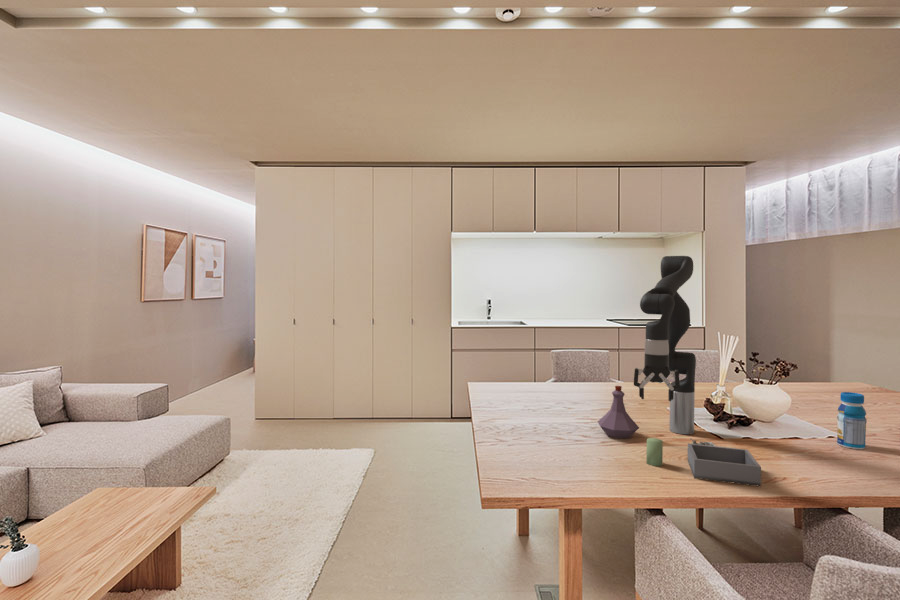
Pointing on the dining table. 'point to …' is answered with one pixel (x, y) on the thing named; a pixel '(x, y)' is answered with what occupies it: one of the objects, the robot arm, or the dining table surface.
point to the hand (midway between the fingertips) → (655, 399)
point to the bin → (723, 464)
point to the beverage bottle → (851, 421)
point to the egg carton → (703, 443)
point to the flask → (618, 418)
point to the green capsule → (654, 451)
